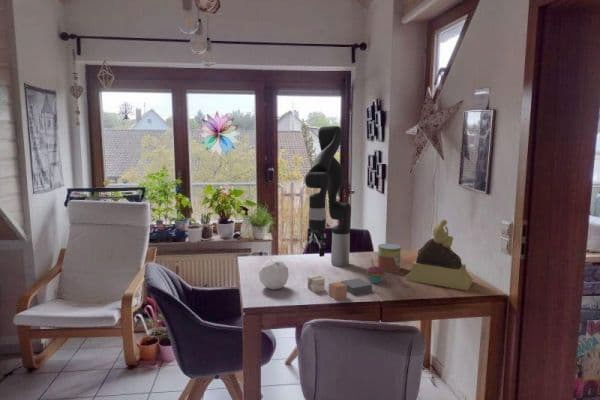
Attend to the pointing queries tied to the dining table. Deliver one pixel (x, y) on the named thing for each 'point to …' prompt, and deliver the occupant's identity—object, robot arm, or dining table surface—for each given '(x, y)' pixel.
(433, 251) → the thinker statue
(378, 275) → the cupcake
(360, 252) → the dining table surface
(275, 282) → the geodesic sphere
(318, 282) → the cream cube
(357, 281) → the plinth
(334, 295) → the terracotta cube
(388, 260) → the canned food
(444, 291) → the dining table surface
